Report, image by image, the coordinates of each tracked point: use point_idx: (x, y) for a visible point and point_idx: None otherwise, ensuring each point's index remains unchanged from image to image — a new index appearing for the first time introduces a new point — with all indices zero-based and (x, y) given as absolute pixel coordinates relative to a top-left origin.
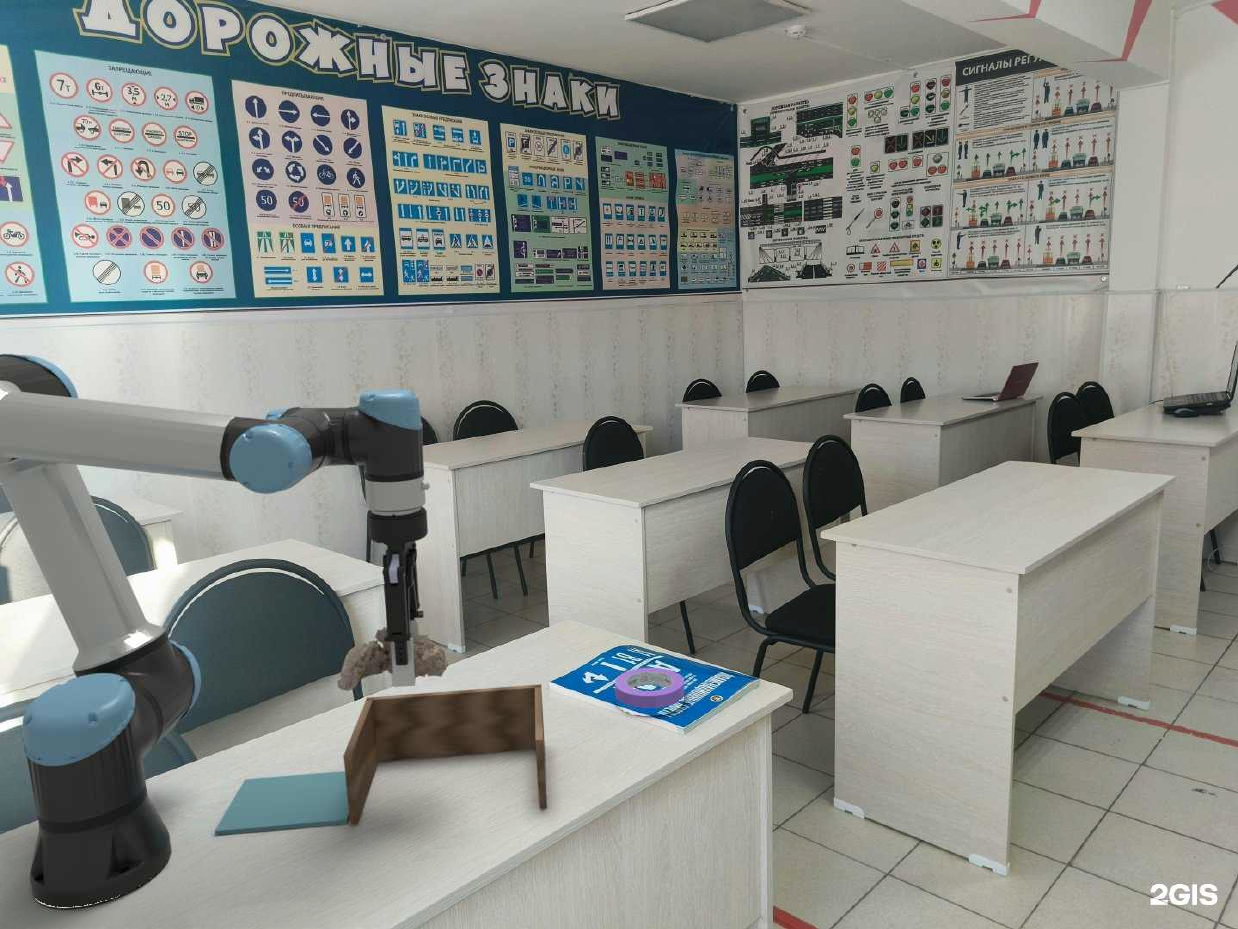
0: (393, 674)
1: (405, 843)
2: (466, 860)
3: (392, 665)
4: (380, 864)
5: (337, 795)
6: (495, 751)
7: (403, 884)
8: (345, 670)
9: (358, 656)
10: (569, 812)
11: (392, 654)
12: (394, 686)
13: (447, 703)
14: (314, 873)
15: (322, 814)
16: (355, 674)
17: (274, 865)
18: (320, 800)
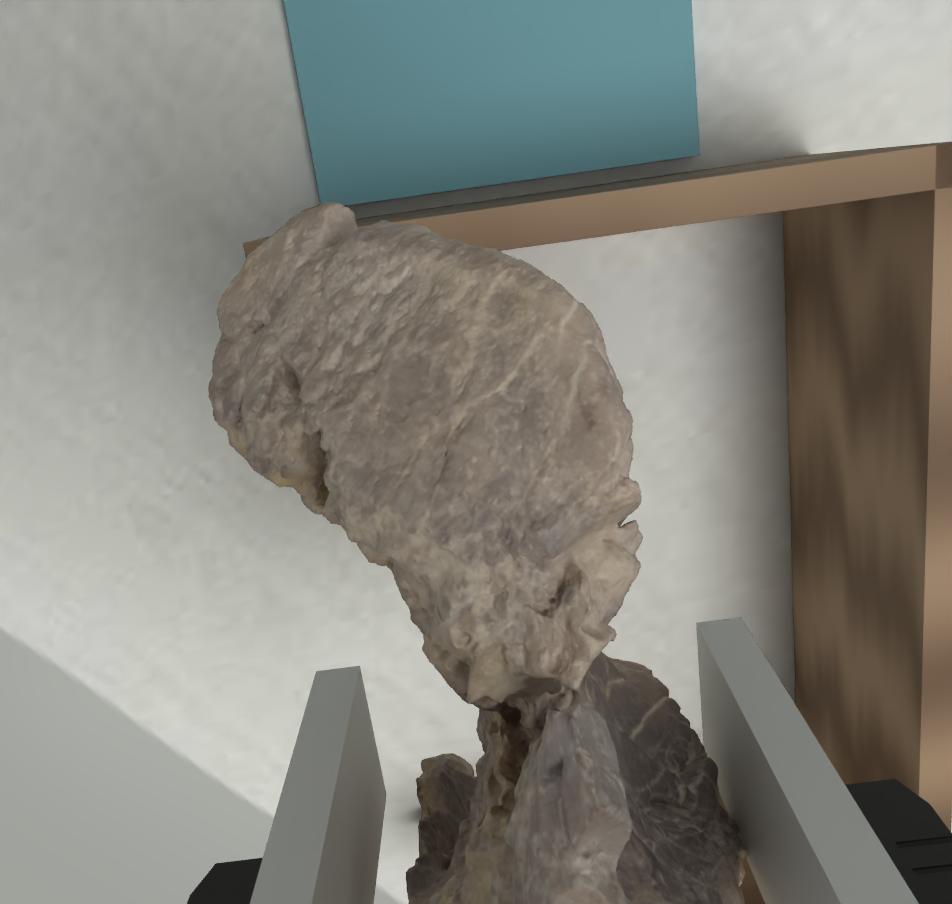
0: (298, 741)
1: (219, 455)
2: (149, 654)
3: (283, 796)
4: (100, 406)
5: (494, 104)
6: (795, 630)
7: (12, 505)
8: (331, 299)
9: (344, 485)
10: (404, 881)
11: (258, 893)
12: (316, 679)
13: (897, 575)
14: (23, 192)
15: (352, 91)
16: (234, 437)
17: (46, 11)
18: (457, 39)
